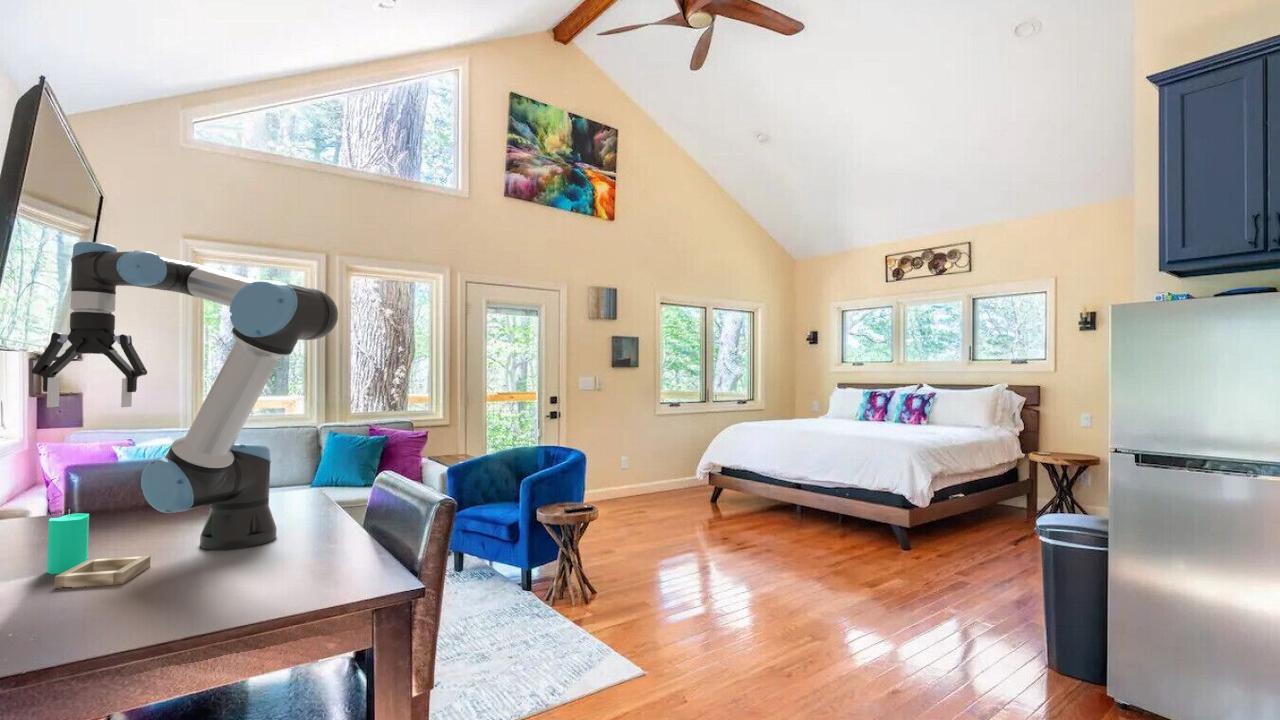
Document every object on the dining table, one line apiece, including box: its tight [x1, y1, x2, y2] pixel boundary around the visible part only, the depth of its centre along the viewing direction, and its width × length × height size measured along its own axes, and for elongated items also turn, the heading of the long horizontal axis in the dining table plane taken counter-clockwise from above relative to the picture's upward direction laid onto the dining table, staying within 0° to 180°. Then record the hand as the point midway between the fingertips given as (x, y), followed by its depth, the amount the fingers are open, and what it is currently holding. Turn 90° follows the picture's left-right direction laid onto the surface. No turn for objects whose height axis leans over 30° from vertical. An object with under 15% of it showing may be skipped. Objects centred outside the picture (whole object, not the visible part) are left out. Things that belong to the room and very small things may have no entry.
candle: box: [46, 509, 90, 575], centre depth 123 cm, size 6×6×12 cm
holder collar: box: [53, 555, 152, 589], centre depth 119 cm, size 10×10×2 cm
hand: (90, 407), depth 136 cm, fingers open, 13 cm apart
